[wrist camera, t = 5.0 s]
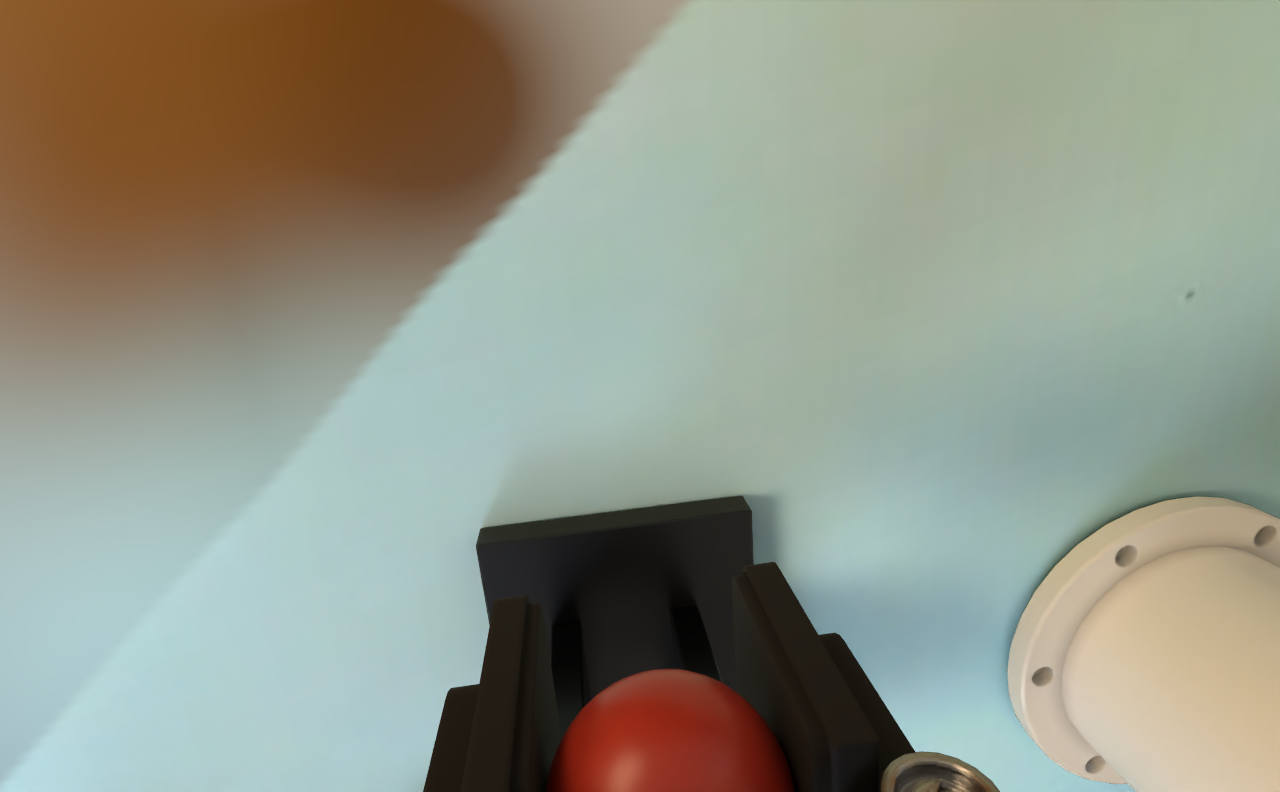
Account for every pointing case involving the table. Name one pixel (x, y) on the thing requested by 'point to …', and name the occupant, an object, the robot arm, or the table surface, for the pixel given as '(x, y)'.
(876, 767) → the robot arm
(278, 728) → the table surface
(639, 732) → the red knob lever
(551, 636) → the black bracket
